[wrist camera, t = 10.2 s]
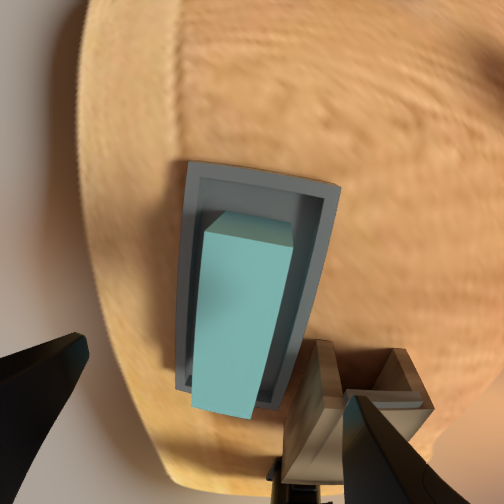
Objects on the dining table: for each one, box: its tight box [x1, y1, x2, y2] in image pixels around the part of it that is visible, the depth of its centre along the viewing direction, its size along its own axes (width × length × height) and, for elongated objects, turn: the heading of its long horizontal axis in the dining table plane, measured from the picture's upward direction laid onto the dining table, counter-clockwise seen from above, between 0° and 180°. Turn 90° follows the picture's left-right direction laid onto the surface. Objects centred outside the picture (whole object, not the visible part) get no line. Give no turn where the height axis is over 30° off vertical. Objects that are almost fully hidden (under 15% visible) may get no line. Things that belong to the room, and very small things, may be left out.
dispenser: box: [281, 339, 435, 485], centre depth 19 cm, size 12×8×7 cm
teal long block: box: [191, 211, 293, 419], centre depth 17 cm, size 12×4×5 cm, turn 171°
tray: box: [175, 161, 341, 410], centre depth 19 cm, size 18×9×2 cm, turn 171°
